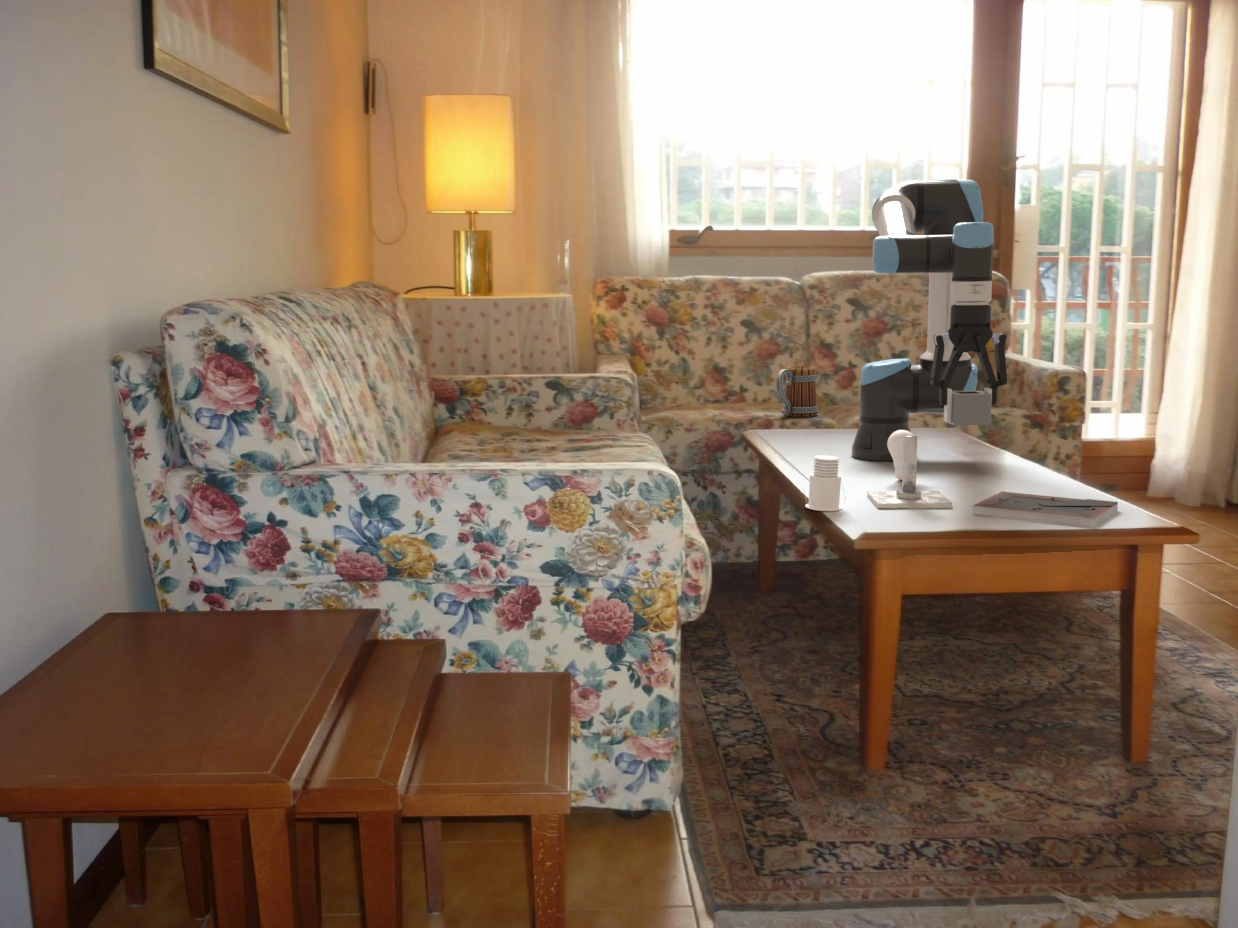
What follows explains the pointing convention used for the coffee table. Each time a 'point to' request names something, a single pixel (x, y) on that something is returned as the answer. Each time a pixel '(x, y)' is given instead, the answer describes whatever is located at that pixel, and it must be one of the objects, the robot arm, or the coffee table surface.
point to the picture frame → (1046, 509)
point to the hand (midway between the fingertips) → (967, 421)
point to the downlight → (825, 485)
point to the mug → (798, 391)
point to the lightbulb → (897, 450)
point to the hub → (971, 408)
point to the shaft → (909, 486)
